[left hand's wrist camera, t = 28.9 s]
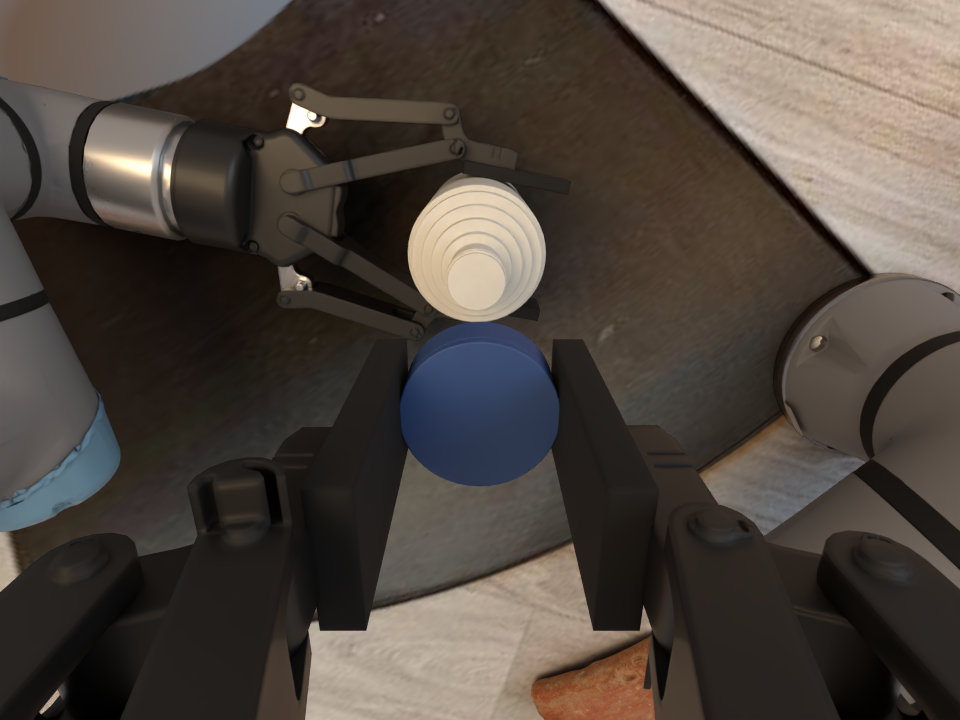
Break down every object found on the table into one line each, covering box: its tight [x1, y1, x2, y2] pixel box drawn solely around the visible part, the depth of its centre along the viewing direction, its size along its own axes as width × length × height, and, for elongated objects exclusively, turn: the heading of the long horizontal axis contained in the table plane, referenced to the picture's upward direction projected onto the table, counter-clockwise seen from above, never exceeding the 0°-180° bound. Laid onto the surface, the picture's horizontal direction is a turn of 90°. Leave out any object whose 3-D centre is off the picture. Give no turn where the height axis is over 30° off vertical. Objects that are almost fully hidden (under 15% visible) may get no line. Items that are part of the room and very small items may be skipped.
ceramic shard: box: [531, 636, 655, 720], centre depth 59 cm, size 15×6×15 cm
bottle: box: [408, 173, 546, 322], centre depth 34 cm, size 7×7×19 cm
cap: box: [400, 322, 560, 486], centre depth 14 cm, size 4×4×2 cm
